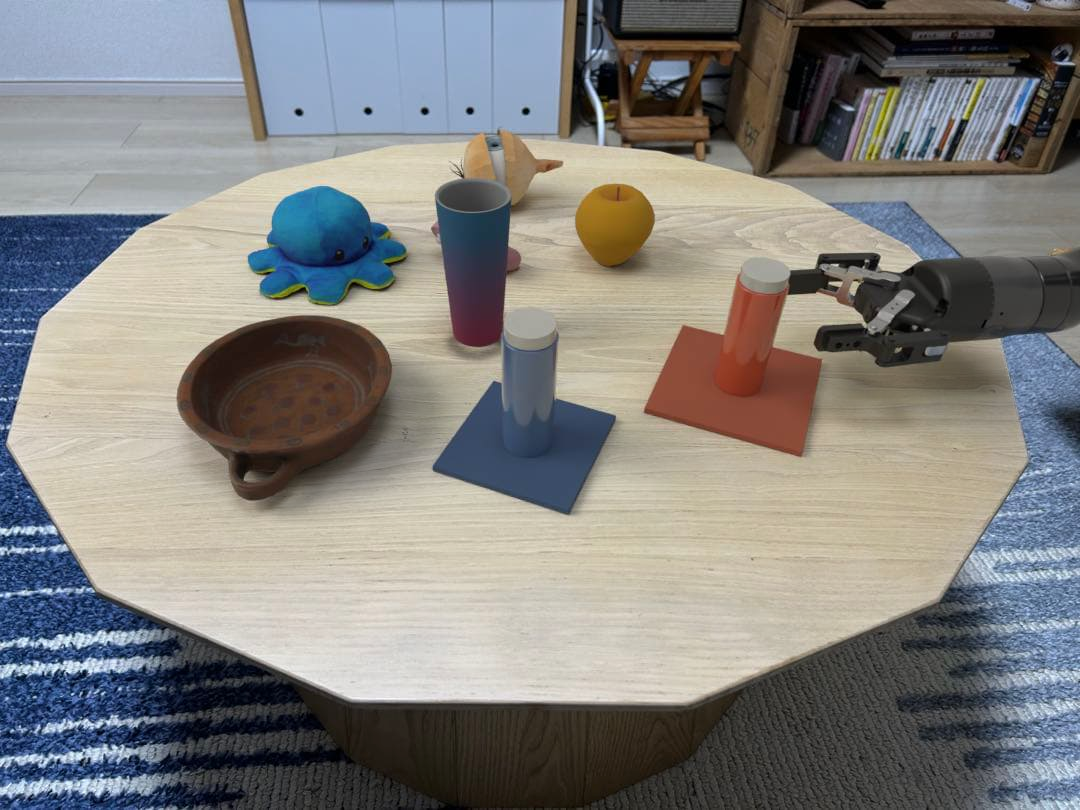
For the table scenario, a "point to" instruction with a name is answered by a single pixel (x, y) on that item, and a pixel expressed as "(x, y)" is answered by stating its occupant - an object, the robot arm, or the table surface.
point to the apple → (614, 222)
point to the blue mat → (530, 479)
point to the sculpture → (504, 162)
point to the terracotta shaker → (752, 325)
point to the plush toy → (324, 247)
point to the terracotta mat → (756, 418)
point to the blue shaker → (529, 381)
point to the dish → (284, 395)
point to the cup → (475, 255)
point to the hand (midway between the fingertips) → (797, 310)
